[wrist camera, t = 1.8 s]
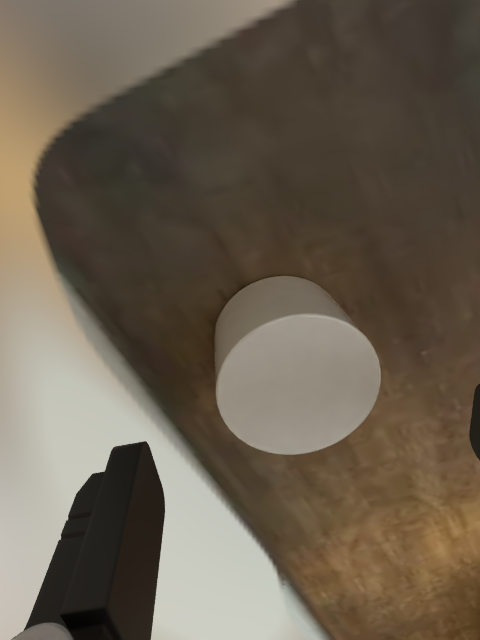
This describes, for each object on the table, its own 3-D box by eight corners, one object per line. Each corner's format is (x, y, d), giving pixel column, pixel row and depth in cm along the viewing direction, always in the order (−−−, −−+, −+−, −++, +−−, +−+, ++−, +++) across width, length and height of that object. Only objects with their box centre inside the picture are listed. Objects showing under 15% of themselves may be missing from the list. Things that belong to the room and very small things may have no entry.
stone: (202, 287, 13) (201, 331, 10) (341, 264, 13) (382, 300, 10) (225, 401, 15) (230, 467, 12) (345, 381, 15) (381, 441, 12)
